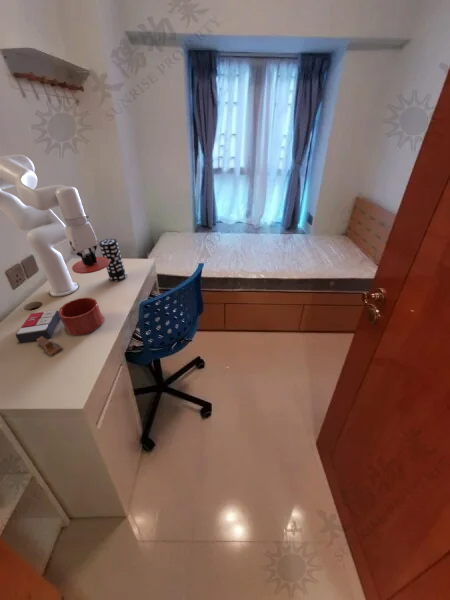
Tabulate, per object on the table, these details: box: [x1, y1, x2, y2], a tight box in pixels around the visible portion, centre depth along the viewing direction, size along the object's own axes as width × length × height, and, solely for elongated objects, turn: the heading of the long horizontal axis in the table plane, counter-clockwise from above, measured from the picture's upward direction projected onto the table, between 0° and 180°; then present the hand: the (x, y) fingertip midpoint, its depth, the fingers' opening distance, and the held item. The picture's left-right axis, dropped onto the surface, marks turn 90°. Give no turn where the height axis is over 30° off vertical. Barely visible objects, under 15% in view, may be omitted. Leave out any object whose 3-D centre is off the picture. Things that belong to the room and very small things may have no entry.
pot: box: [58, 297, 104, 336], centre depth 113 cm, size 14×14×8 cm
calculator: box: [15, 309, 61, 343], centre depth 113 cm, size 11×4×15 cm
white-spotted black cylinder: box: [98, 238, 127, 282], centre depth 143 cm, size 8×8×20 cm
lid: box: [71, 252, 110, 275], centre depth 118 cm, size 15×15×6 cm
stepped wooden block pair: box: [35, 336, 62, 357], centre depth 103 cm, size 10×4×3 cm, turn 57°
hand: (90, 263), depth 119 cm, fingers closed on lid, 2 cm apart
